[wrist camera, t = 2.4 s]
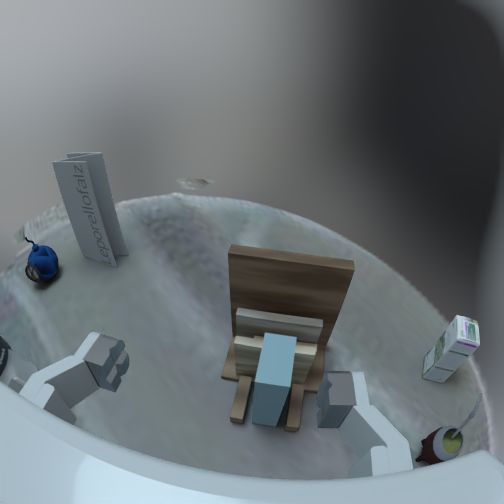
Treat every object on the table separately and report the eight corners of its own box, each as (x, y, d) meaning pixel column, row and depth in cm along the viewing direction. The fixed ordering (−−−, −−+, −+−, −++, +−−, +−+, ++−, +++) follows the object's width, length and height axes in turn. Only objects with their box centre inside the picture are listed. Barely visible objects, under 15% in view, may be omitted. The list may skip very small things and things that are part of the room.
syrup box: (442, 384, 43) (482, 345, 34) (420, 378, 45) (457, 337, 36) (444, 362, 47) (479, 321, 38) (423, 356, 49) (456, 313, 40)
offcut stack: (305, 385, 45) (321, 348, 37) (233, 374, 47) (229, 335, 39) (308, 360, 49) (322, 319, 41) (239, 350, 51) (237, 307, 43)
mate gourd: (420, 476, 29) (473, 456, 20) (405, 443, 35) (453, 414, 25) (448, 456, 31) (501, 429, 21) (434, 425, 36) (482, 391, 27)
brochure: (83, 256, 72) (52, 162, 53) (94, 245, 76) (67, 153, 57) (117, 267, 69) (85, 162, 50) (128, 254, 73) (102, 152, 54)
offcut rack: (316, 433, 39) (361, 381, 25) (210, 417, 41) (187, 356, 27) (323, 343, 53) (353, 260, 39) (235, 331, 56) (231, 244, 42)
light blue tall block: (275, 426, 40) (290, 386, 29) (251, 423, 41) (254, 381, 29) (281, 391, 45) (296, 337, 34) (259, 387, 46) (265, 332, 35)
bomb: (29, 288, 61) (6, 247, 51) (46, 263, 69) (28, 223, 60) (51, 292, 60) (28, 248, 51) (68, 265, 69) (50, 222, 59)
